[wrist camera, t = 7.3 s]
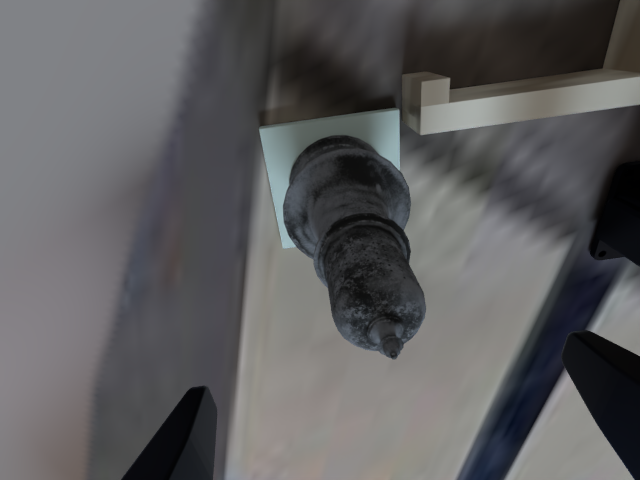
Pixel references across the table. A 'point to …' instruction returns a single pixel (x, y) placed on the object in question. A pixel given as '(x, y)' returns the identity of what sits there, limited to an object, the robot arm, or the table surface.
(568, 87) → the beige bracket
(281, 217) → the pad
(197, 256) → the table surface
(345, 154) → the dark grey chess piece
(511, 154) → the table surface
